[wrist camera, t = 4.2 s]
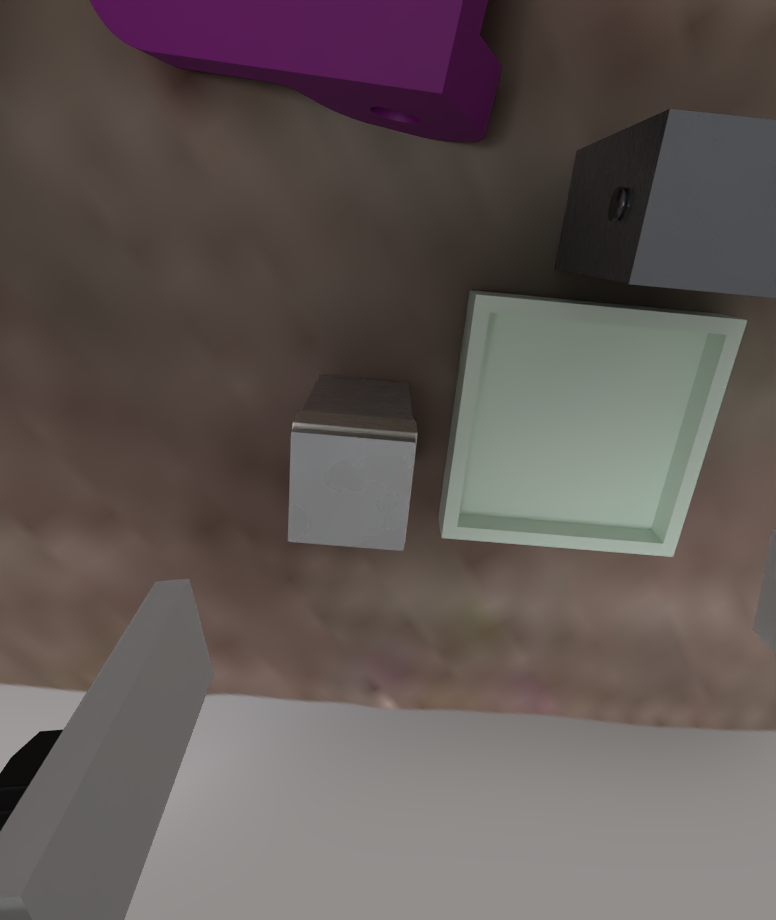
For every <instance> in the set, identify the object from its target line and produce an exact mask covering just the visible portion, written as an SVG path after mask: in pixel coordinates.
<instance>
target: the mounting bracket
mask: <svg viewBox="0 0 776 920" xmlns="http://www.w3.org/2000/svg"><path fill="white" fill-rule="evenodd" d="M90 1H91V3H92V5H93V7H94V9H95V11H96V12H97V14H98V16H99V17H100V19H101V20H102V21H103V22H104V24H105V25H106V26H107V27H108V28H109V30H110V31H111V32H112V33H113V34H114V35H116V36H117V37H118V38H119V39H121V40H122V41H123V42H125V43H127V44H128V45H130V46H132V47H134V48H136V49H138V50H141V51H143V52H145V53H147V54H149V55H151V56H153V57H155V58H157V59H159V60H162V61H164V62H166V63H168V64H170V65H173V66H175V67H178V68H183V69H188V70H194V71H201V72H207V73H214V74H220V75H227V76H233V77H240V78H246V79H253V80H259V81H266V82H272V83H277V84H281V85H284V86H287V87H290V88H292V89H295V90H297V91H298V92H300V93H302V94H304V95H305V96H307V97H309V98H311V99H313V100H314V101H316V102H318V103H320V104H321V105H323V106H325V107H327V108H329V109H332V110H334V111H336V112H339V113H341V114H343V115H346V116H349V117H351V118H354V119H357V120H360V121H363V122H366V123H369V124H373V125H377V126H381V127H385V128H388V129H392V130H396V131H400V132H404V133H408V134H412V135H416V136H419V137H424V138H429V139H435V140H442V141H451V142H477V141H480V140H483V139H484V138H485V135H486V131H487V127H488V123H489V119H490V115H491V111H492V107H493V103H494V99H495V95H496V91H497V87H498V83H499V79H500V76H501V72H502V68H501V65H500V63H499V61H498V60H497V58H496V57H495V55H494V54H493V53H492V51H491V50H490V48H489V47H488V45H487V44H486V43H485V41H484V40H483V38H482V37H481V36H480V32H481V28H482V24H483V20H484V16H485V11H486V7H487V3H488V0H90Z"/></svg>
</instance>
